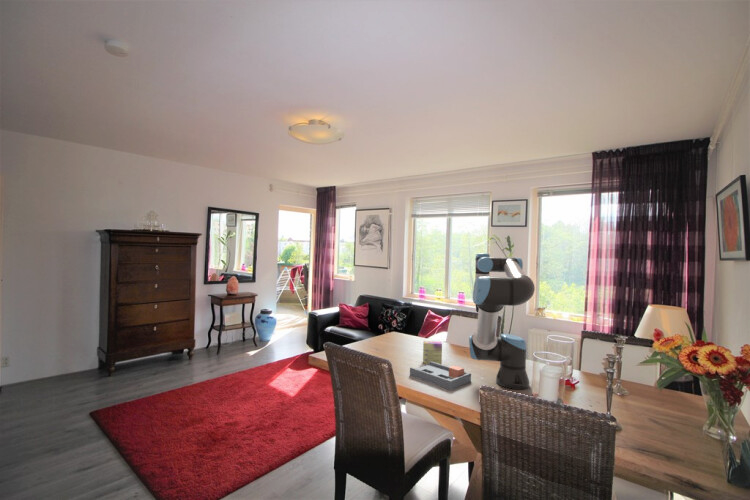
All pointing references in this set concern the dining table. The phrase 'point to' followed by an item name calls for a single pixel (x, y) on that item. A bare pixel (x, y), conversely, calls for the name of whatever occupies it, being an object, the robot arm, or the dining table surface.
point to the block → (456, 371)
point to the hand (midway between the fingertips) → (481, 324)
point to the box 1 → (432, 352)
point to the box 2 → (439, 375)
